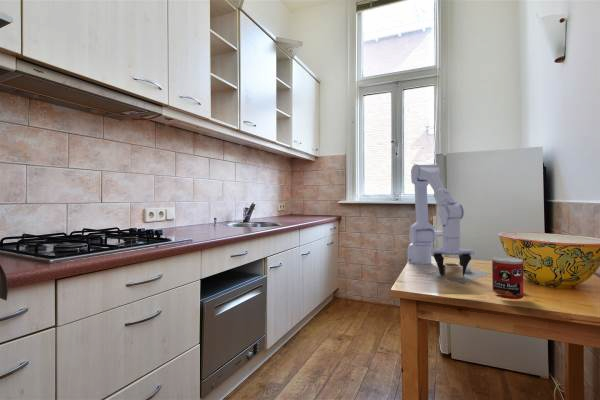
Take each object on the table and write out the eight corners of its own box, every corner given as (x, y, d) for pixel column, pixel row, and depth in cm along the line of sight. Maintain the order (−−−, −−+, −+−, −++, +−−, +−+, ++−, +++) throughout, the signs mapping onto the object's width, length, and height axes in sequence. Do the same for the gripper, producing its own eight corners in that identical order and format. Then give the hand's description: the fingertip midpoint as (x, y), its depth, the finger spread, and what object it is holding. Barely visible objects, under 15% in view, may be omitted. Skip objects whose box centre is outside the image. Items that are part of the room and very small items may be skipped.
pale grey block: (459, 271, 114) (459, 262, 114) (463, 269, 116) (462, 260, 115) (467, 272, 111) (467, 263, 111) (471, 271, 113) (471, 262, 113)
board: (426, 277, 110) (426, 274, 110) (453, 268, 122) (453, 266, 122) (465, 286, 99) (464, 282, 99) (491, 276, 111) (491, 272, 111)
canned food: (489, 295, 90) (489, 259, 90) (495, 289, 95) (495, 255, 95) (520, 301, 84) (520, 263, 84) (525, 294, 90) (525, 258, 90)
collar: (445, 277, 105) (445, 266, 105) (441, 273, 111) (441, 262, 111) (462, 278, 104) (462, 266, 104) (457, 273, 110) (457, 263, 110)
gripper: (433, 238, 105) (433, 277, 105) (477, 239, 102) (478, 278, 102) (427, 236, 112) (428, 271, 112) (469, 236, 109) (469, 272, 109)
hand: (451, 274), depth 108 cm, fingers open, 6 cm apart
